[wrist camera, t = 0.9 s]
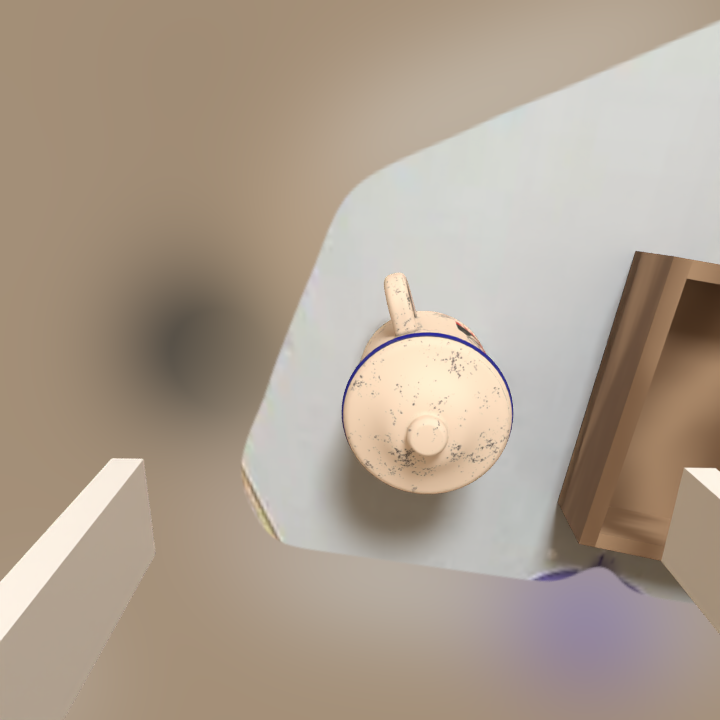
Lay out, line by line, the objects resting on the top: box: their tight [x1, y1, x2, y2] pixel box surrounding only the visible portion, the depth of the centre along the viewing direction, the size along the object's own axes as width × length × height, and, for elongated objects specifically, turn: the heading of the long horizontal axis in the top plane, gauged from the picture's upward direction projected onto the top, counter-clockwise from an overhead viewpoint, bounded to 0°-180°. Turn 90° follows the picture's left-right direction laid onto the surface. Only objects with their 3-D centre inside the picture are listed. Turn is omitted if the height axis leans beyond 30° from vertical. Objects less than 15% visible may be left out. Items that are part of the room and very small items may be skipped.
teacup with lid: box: [342, 273, 513, 494], centre depth 30 cm, size 12×9×12 cm
